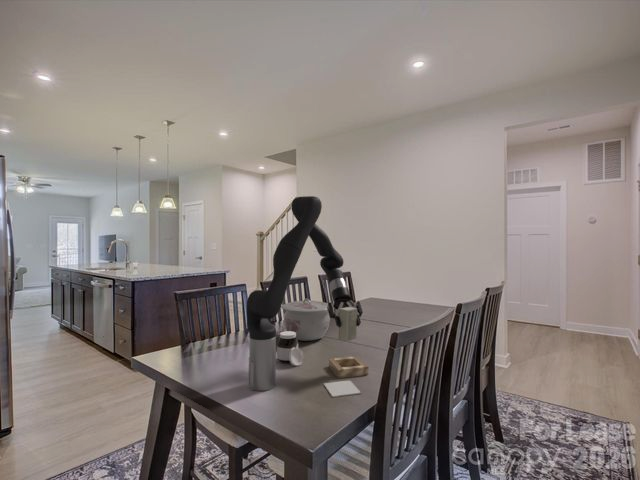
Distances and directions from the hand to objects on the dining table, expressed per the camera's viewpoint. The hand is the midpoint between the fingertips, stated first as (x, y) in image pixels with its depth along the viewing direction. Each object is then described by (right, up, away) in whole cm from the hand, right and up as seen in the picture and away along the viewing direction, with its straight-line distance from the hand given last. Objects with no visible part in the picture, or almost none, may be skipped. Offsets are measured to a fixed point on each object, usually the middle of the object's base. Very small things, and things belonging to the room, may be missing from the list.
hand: (349, 325), depth 129 cm
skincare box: (-1, -6, +1) cm, 6 cm away
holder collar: (0, -18, +1) cm, 18 cm away
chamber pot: (-18, -18, +46) cm, 53 cm away
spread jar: (-24, -18, +10) cm, 32 cm away
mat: (-4, -18, -15) cm, 24 cm away
